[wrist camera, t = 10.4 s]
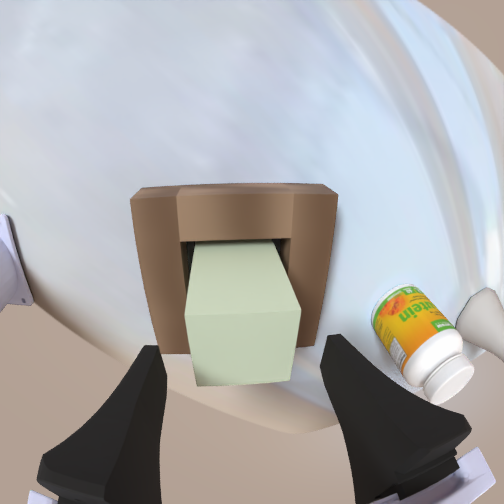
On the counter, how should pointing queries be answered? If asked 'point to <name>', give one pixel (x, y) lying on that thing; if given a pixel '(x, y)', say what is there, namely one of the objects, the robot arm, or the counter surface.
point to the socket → (231, 228)
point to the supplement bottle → (422, 343)
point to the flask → (483, 322)
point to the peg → (240, 314)
